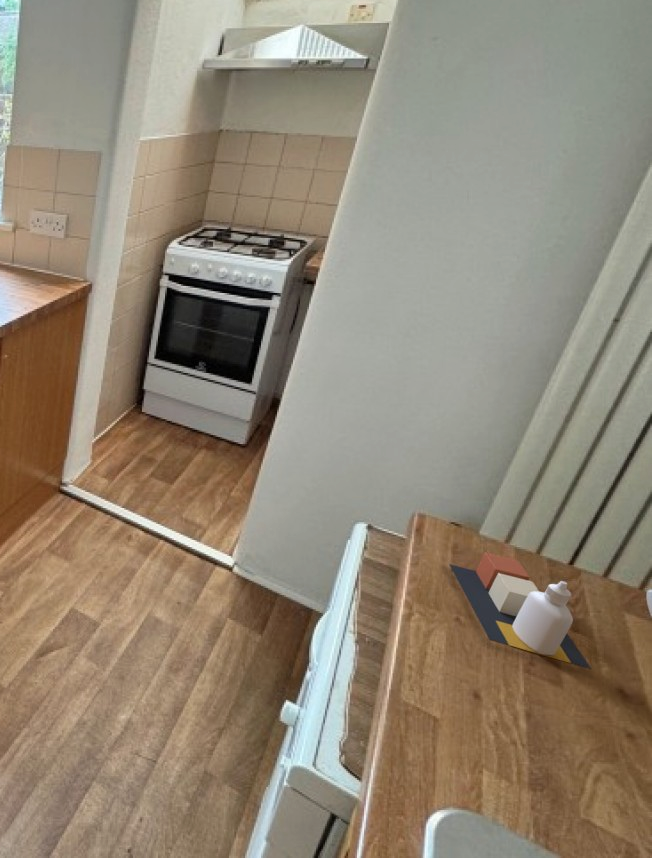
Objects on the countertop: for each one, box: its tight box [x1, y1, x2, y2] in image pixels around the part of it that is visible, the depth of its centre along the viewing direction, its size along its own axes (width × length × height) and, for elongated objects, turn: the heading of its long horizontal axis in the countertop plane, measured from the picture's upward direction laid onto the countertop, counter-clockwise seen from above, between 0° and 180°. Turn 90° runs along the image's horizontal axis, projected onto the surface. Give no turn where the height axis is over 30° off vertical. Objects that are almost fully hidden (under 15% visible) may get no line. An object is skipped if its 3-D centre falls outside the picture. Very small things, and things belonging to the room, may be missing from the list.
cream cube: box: [489, 573, 540, 617], centre depth 100 cm, size 4×4×4 cm
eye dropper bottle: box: [512, 580, 574, 656], centre depth 92 cm, size 4×6×12 cm
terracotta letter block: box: [475, 551, 531, 590], centre depth 104 cm, size 4×4×4 cm
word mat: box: [448, 564, 592, 670], centre depth 100 cm, size 12×18×1 cm, turn 155°
